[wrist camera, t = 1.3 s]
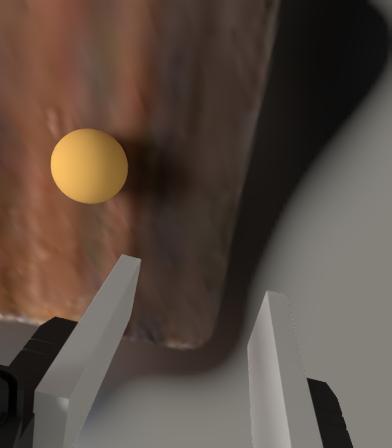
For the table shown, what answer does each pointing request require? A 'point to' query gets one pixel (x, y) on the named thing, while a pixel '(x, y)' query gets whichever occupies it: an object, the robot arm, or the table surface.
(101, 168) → the ball
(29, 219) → the table surface
